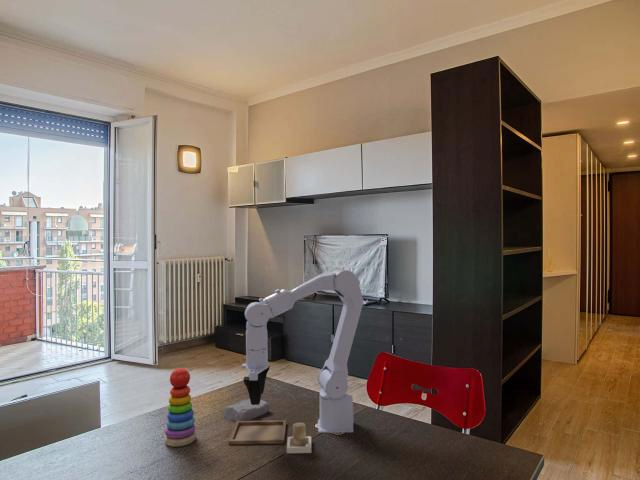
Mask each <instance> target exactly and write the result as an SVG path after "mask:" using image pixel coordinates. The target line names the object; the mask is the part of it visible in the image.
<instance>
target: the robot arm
mask: <svg viewBox="0 0 640 480" xmlns="http://www.w3.org/2000/svg"><path fill="white" fill-rule="evenodd" d="M360 284H361V281H360V279H359V278H358V277H357V276H356V274H355V273H354V272H353V271H351V270H348V269H347V270H346V269H345V270H344V269H341V268H338V267H337V268H332V269H331V270H330V271H329V270H328V271H324V272H322V273H320V274H319V275H316V276H315V277H312V278H311V279H309V280H307V281H305V282H304V283H302V284H300V285H298V286H297V287H294V288H292V289H291V290H288V289H285V288H282V289H280V288H277V289H276V290H275V289H274V293H273V294H270V295H268V296H266V297H264V298H262V297H260V298H259V299H258V301H259V302H258V301H255V302H250V303H249V304H248V305H247V307H246V308H245V311H244V317H245V320H246V325H245V328H246V330H245V363H242V364H241V369H245V370H246V371H247V372H248V375H249V376H244V377H243V380H242V381H243V383H244V385H245V387H246V389H247V392H248V397H249V399H250V402H251V405H259V404H260V400H262V395H263V394H264V391H265V386H266V385H265V384H266V379H267V375H268V373H269V370H270V369H271V368H270V364H269V361H268V360H269V355H268V354H269V353H268V349H269V347H268V338H269V337H268V329H267V328H268V327H267V323H268V322H269V319H273V318H275V317H277V316H279V315H281V314H283V313H285V312H287V311H289V310H291V309H293V307H294V305H295V303H296V302H298V301H299V300H302V299H304V298H306V297H308V296H310V295H312V294H315V293H318V292H320V291H331V292H335V293H336V294H337V295H338V297H339V299H340V301H341V302H342V303H343V305H342V308H341V311H340V312H341V313H340V315H339V320H338V324H337V327H336V331H335V333H334V338H333V340H332V341H333V342H332V346H331V349H330V353H329V356H328V358H327V359H326V360H325V362H324V365H323V367H322V369H321V370H320V371H319V372H318V374H317V382H318V384H319V386H320V391H319V419H317V430H318V432H317V433H320V434H325V433H326V434H327V433H335V434H336V433H354V422H355V420H354V419H355V418H354V402H353V401H354V399H353V395H352V394H347V392H348V388H349V385H348V376H349V371H348V370H349V369H348V361H349V357H350V355H351V349H352V346H353V341H354V338H355V335H356V331H357V327H358V324H359V320H360V316H361V313H362V310H363V305H364V299H363V296H362V295H363V294H362V290H361V285H360Z"/></svg>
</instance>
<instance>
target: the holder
mask: <svg viewBox="0 0 640 480" xmlns="http://www.w3.org/2000/svg"><path fill="white" fill-rule="evenodd" d="M286 441H287V442H286V454H312V436H311V435H308V436H306V446H293V436H287V440H286Z"/></svg>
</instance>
